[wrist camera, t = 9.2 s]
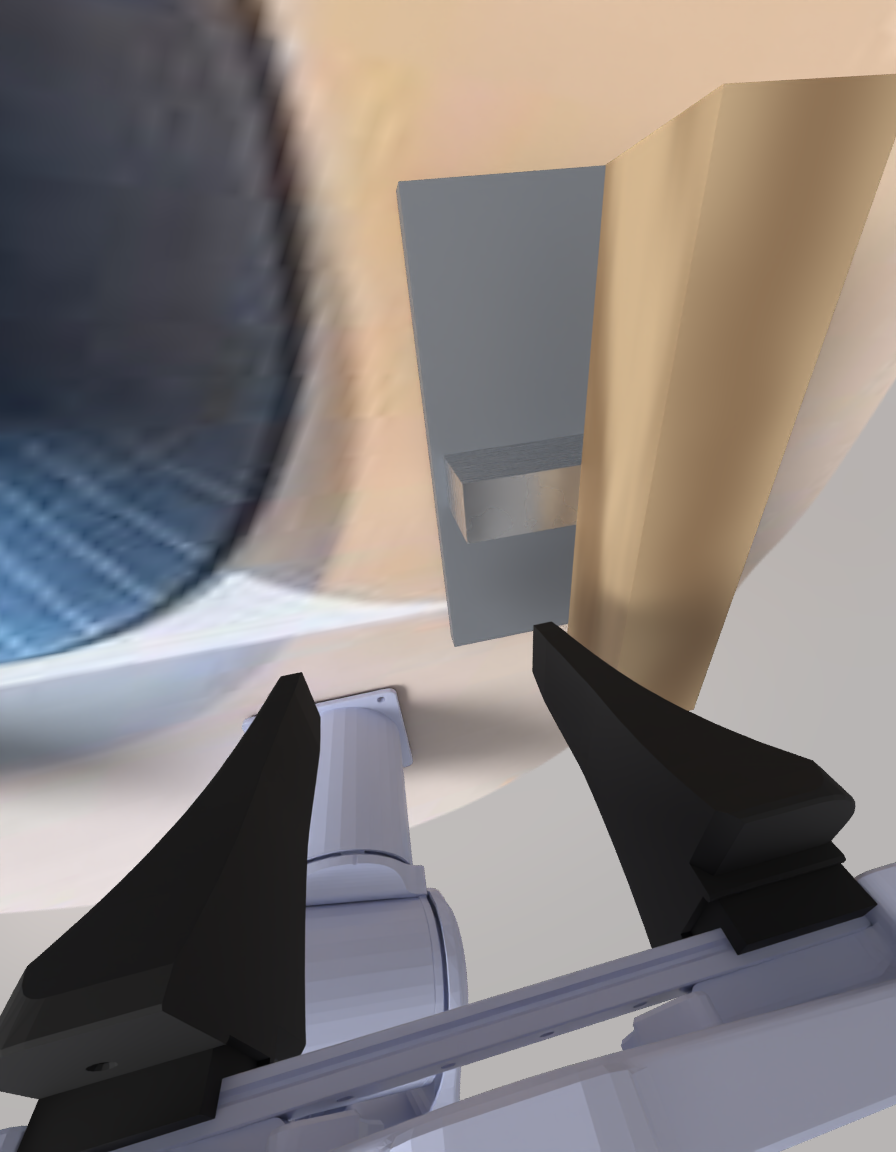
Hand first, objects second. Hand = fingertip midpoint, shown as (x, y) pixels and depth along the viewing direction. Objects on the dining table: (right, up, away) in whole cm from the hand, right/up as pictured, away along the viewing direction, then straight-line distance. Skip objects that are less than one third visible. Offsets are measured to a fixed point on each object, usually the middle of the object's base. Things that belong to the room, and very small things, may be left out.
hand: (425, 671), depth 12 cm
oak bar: (+8, +6, +3) cm, 10 cm away
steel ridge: (+7, +8, +6) cm, 13 cm away
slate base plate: (+7, +9, +7) cm, 13 cm away
